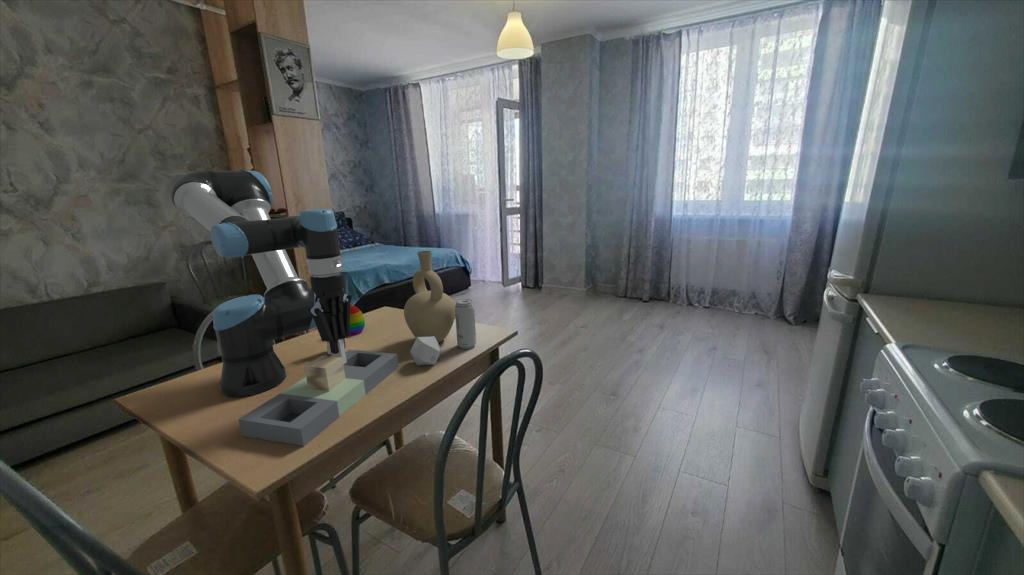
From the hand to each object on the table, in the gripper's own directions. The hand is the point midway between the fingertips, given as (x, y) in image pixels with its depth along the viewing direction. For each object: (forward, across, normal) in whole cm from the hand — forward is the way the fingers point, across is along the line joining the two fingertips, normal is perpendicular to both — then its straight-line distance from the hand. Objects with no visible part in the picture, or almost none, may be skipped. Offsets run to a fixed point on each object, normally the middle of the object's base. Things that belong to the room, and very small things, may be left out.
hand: (340, 362), depth 105 cm
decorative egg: (+7, +35, +24) cm, 43 cm away
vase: (+7, +34, -8) cm, 36 cm away
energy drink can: (+7, +32, -21) cm, 39 cm away
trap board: (+7, -5, 0) cm, 8 cm away
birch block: (+3, -6, 0) cm, 6 cm away
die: (+7, +18, -14) cm, 24 cm away
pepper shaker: (+7, +19, +19) cm, 28 cm away
